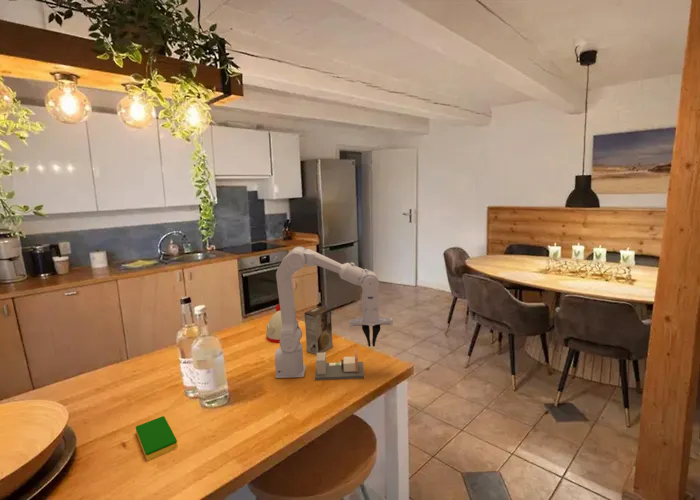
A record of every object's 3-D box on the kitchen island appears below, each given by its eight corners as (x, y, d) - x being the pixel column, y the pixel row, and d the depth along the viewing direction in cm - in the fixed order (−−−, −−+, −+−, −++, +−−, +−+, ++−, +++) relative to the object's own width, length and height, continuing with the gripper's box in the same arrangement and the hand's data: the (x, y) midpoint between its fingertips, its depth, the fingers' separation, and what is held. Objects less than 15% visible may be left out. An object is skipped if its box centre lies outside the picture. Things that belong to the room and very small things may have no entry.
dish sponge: (164, 423, 105) (163, 415, 105) (178, 448, 94) (177, 440, 94) (136, 434, 101) (135, 426, 100) (147, 462, 90) (145, 453, 90)
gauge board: (314, 380, 124) (314, 363, 123) (317, 365, 134) (316, 350, 133) (364, 378, 124) (363, 361, 123) (362, 364, 134) (362, 348, 133)
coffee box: (321, 343, 153) (319, 305, 151) (333, 346, 150) (331, 308, 147) (306, 351, 146) (303, 312, 143) (318, 355, 142) (316, 315, 140)
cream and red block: (341, 372, 126) (340, 358, 125) (341, 362, 133) (341, 348, 132) (357, 372, 126) (357, 357, 125) (357, 361, 133) (356, 348, 133)
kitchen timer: (277, 346, 152) (274, 311, 149) (260, 336, 162) (258, 304, 159) (305, 336, 161) (303, 303, 158) (287, 327, 171) (285, 296, 169)
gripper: (349, 312, 121) (350, 351, 124) (393, 310, 121) (394, 349, 124) (348, 305, 128) (350, 342, 131) (390, 303, 128) (391, 340, 131)
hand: (371, 345), depth 128 cm, fingers closed
